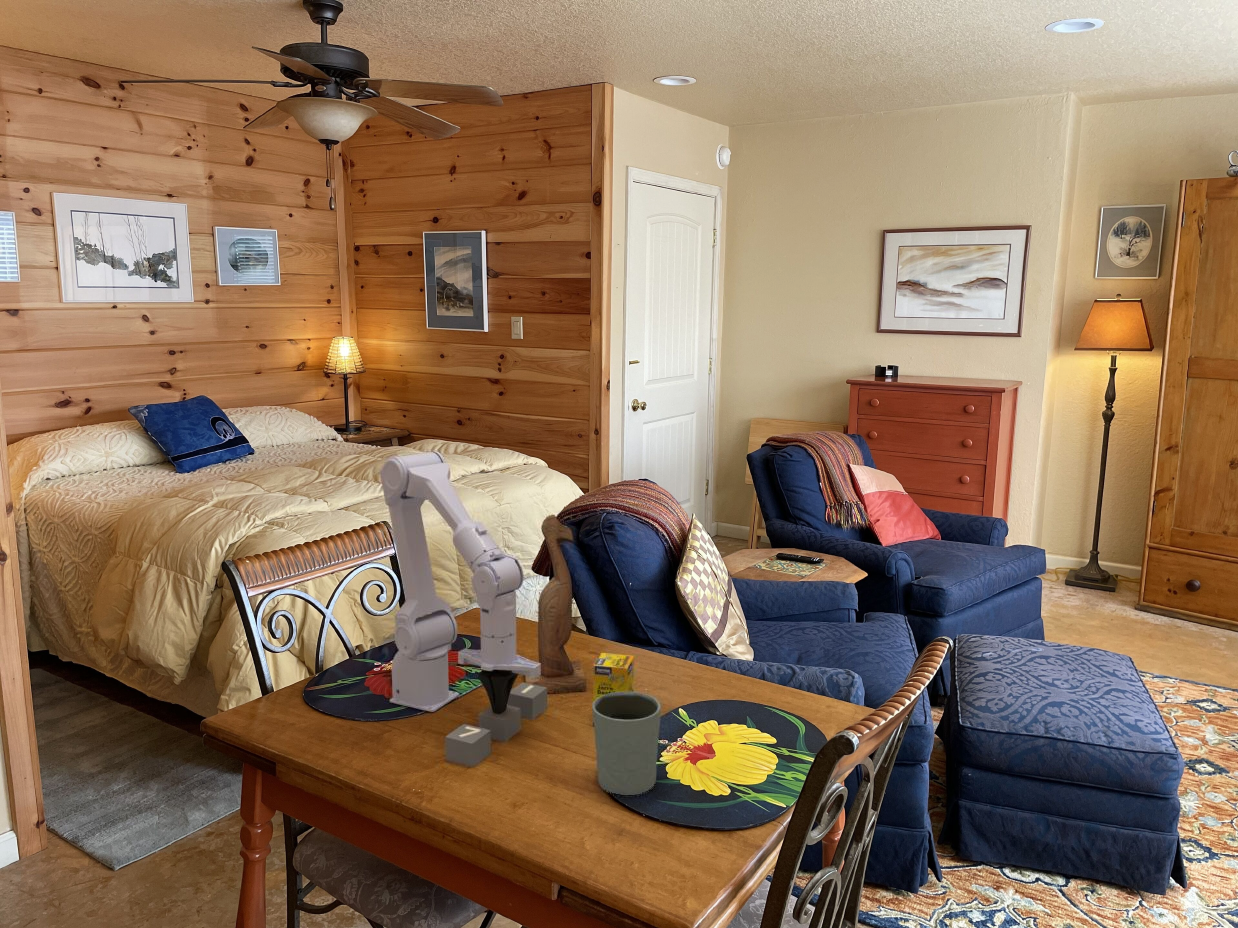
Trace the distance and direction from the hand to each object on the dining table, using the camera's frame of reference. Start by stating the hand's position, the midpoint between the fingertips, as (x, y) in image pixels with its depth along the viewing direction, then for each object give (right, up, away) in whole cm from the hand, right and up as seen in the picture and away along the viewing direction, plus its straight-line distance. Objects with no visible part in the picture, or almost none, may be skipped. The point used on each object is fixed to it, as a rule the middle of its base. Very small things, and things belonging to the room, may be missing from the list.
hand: (499, 711), depth 150 cm
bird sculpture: (+7, 0, +21) cm, 22 cm away
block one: (+4, -3, +9) cm, 10 cm away
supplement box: (+19, -3, +5) cm, 20 cm away
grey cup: (+21, -7, -14) cm, 26 cm away
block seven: (-4, -5, -7) cm, 10 cm away
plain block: (0, -4, +1) cm, 4 cm away
